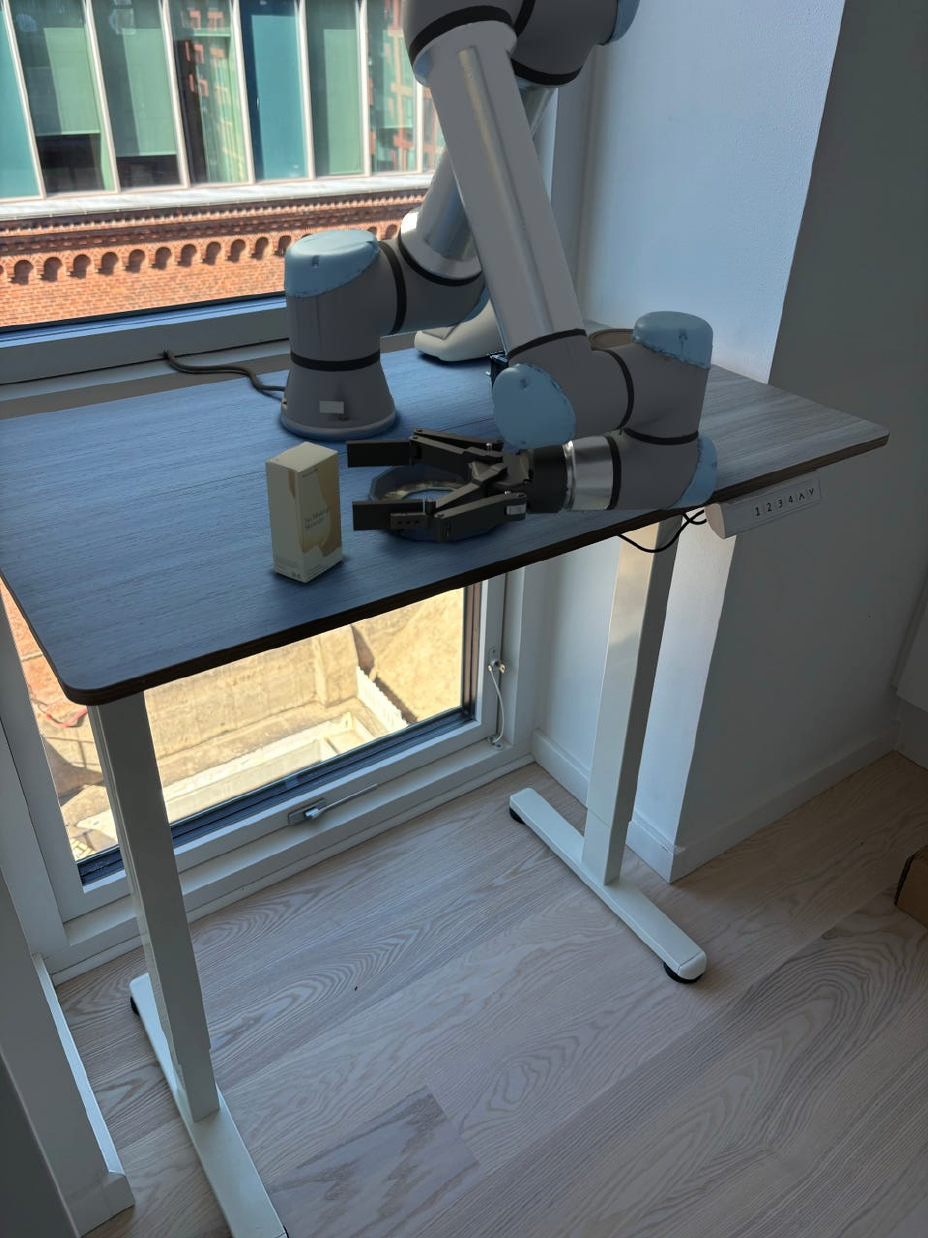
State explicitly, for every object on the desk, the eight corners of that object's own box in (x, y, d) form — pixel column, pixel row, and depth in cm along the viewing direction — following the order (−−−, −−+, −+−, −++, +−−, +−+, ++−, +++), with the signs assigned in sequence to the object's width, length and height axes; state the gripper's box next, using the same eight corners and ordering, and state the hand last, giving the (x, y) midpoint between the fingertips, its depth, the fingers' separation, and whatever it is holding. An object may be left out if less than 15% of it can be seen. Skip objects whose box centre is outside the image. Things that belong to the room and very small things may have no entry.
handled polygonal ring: (328, 525, 106) (327, 505, 105) (430, 460, 121) (430, 442, 120) (445, 565, 100) (445, 545, 99) (538, 491, 114) (539, 473, 113)
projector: (410, 322, 166) (410, 232, 158) (541, 322, 168) (548, 234, 160) (415, 367, 148) (415, 268, 140) (563, 366, 150) (571, 269, 142)
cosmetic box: (305, 585, 96) (297, 473, 89) (272, 572, 98) (261, 461, 91) (345, 558, 101) (340, 449, 94) (313, 546, 102) (305, 438, 96)
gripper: (587, 571, 90) (357, 583, 87) (534, 457, 110) (346, 463, 107) (595, 498, 85) (353, 508, 83) (538, 394, 106) (343, 399, 103)
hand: (349, 483), depth 95 cm, fingers open, 13 cm apart
